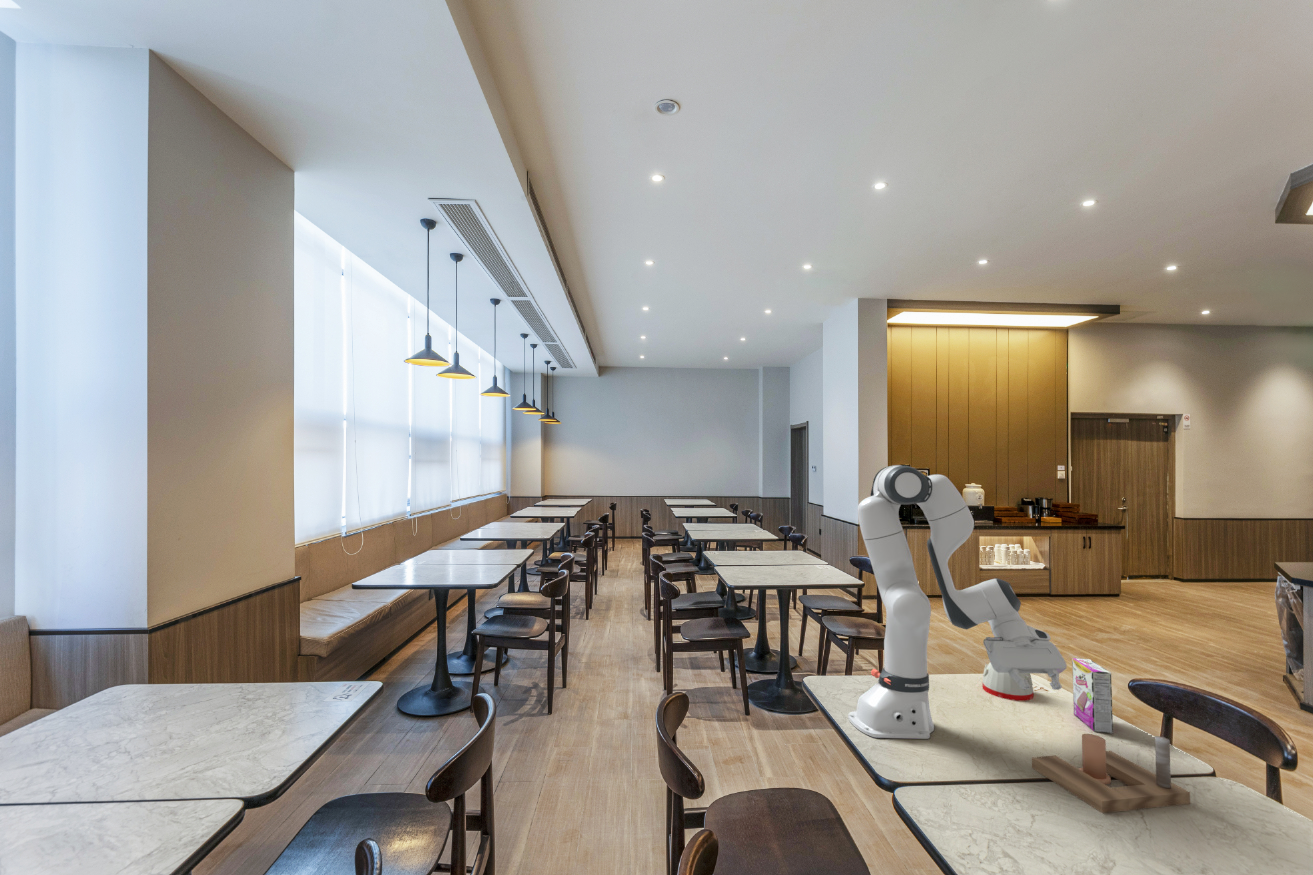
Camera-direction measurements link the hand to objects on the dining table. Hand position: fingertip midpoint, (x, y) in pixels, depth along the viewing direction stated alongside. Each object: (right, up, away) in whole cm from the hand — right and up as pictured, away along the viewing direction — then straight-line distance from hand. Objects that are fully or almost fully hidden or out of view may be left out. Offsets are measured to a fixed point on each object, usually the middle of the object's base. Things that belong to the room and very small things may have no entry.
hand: (1041, 688), depth 148 cm
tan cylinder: (+2, -14, -15) cm, 21 cm away
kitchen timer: (+13, -17, +36) cm, 42 cm away
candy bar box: (+23, -16, +13) cm, 31 cm away
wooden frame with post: (+3, -14, -18) cm, 23 cm away
